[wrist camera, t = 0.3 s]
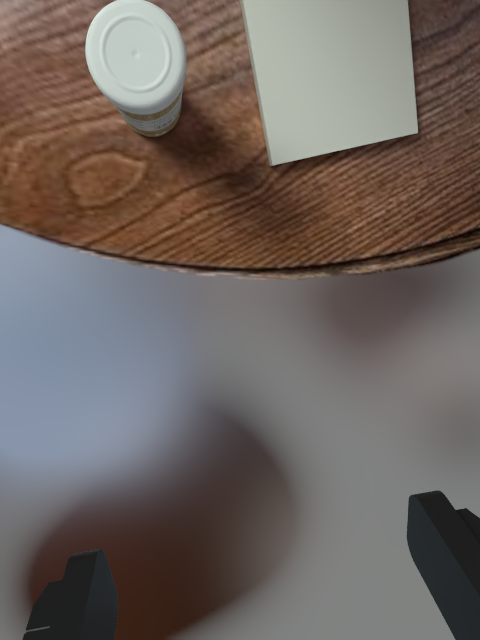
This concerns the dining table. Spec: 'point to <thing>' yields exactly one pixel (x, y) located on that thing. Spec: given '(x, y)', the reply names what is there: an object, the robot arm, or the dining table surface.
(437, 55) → the dining table surface
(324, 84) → the ceramic tile
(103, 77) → the sprinkles bottle
